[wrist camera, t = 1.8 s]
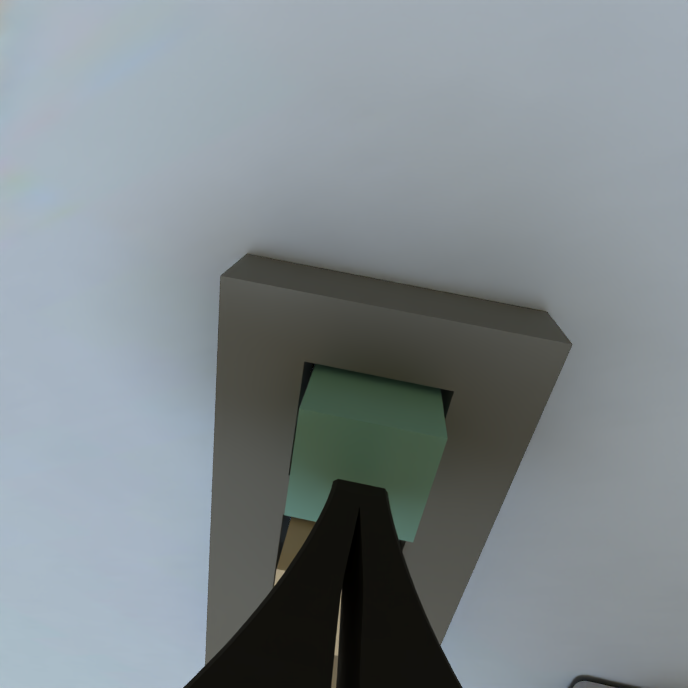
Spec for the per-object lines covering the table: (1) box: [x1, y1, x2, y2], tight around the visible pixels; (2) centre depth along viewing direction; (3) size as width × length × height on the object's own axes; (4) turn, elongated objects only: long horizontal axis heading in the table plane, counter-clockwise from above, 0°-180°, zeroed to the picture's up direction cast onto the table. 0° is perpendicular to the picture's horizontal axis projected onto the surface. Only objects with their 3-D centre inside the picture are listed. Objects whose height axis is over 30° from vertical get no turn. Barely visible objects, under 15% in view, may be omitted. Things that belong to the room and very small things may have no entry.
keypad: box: [205, 254, 572, 665], centre depth 19 cm, size 22×10×2 cm, turn 171°
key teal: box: [284, 364, 448, 542], centre depth 14 cm, size 4×4×3 cm
